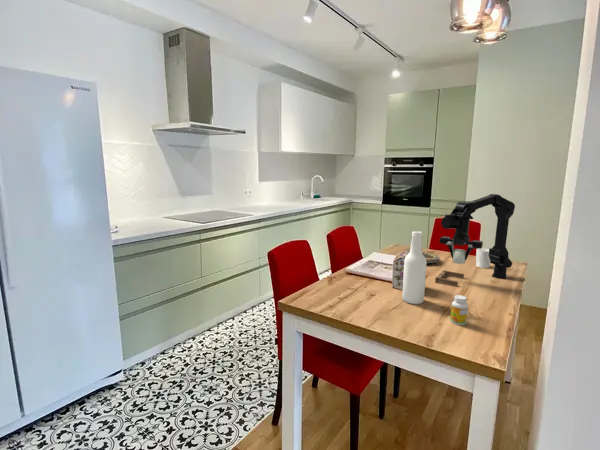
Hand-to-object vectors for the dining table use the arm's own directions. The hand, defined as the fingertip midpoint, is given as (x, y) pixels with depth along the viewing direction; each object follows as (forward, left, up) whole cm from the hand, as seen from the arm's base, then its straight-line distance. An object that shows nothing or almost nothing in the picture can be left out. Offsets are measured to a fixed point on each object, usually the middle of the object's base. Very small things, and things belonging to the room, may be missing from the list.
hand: (458, 259), depth 166 cm
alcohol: (+38, -10, -12) cm, 41 cm away
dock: (0, -4, -12) cm, 12 cm away
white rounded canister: (0, 0, -2) cm, 2 cm away
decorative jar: (+23, -17, -12) cm, 31 cm away
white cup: (-37, +6, -12) cm, 39 cm away
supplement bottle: (+48, +10, -12) cm, 50 cm away
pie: (-27, -26, -12) cm, 40 cm away
